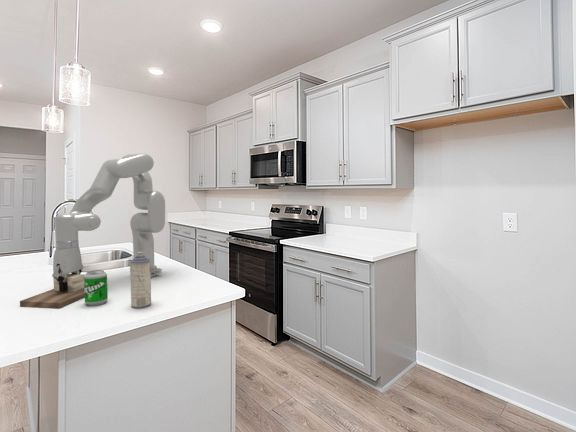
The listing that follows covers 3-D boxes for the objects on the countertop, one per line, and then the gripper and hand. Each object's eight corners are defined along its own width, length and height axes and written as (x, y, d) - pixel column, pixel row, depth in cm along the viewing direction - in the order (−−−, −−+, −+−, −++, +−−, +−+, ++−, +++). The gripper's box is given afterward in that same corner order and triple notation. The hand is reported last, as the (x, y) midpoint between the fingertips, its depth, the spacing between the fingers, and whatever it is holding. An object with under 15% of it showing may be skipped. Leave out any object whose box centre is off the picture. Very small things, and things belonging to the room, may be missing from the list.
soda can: (91, 300, 127) (90, 269, 126) (111, 299, 128) (110, 269, 127) (80, 306, 120) (79, 274, 119) (102, 306, 120) (100, 274, 119)
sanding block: (84, 288, 135) (84, 274, 134) (74, 292, 129) (74, 278, 129) (64, 287, 136) (64, 273, 135) (54, 291, 130) (53, 277, 130)
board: (101, 290, 140) (101, 285, 139) (59, 308, 118) (59, 303, 118) (67, 288, 141) (66, 284, 141) (20, 306, 120) (19, 301, 119)
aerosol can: (154, 304, 122) (153, 252, 121) (137, 309, 117) (135, 254, 115) (145, 300, 126) (143, 249, 125) (127, 305, 121) (125, 252, 119)
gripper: (75, 241, 140) (77, 282, 141) (40, 248, 123) (43, 295, 124) (91, 241, 139) (93, 283, 141) (58, 249, 122) (61, 296, 124)
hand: (69, 288), depth 132 cm, fingers closed on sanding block, 5 cm apart
